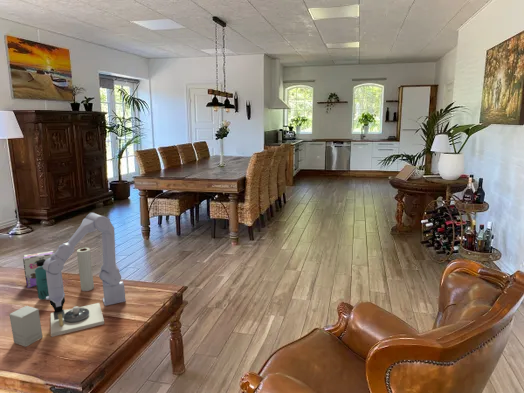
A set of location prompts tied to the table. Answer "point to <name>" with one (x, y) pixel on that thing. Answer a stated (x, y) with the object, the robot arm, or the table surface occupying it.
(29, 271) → the candy box
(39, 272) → the beverage bottle
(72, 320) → the flange
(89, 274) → the paper towel roll
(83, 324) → the base plate
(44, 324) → the table surface
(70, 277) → the table surface
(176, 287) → the table surface
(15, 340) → the supplement box
